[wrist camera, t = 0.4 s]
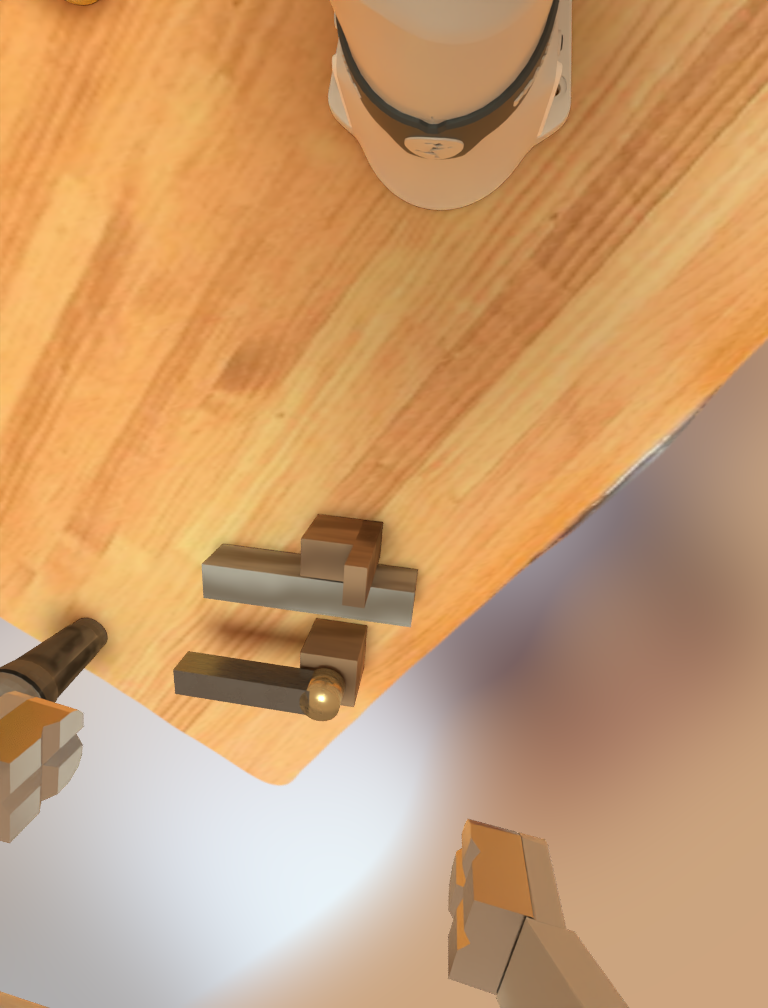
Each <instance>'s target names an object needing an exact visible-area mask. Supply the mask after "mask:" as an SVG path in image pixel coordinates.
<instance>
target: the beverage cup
mask: <svg viewBox="0 0 768 1008" xmlns="http://www.w3.org/2000/svg"><path fill="white" fill-rule="evenodd" d="M106 642H107V633H106V631H105V629H104V628H103V626H102V625H101V624H99V623H98V622H97V621H95V620H93V619H89V618H81V619H79V620H77V621H76V622H75V623H73V624H71V625H69V626H67V627H65V628H64V629H62V630H61V631H59V632H58V633H56V634H55V635H53V636H52V637H50V638H48V639H47V640H45V641H44V642H42V643H41V644H39V645H38V646H36V647H35V648H33V649H32V650H30V651H28V652H27V653H25V654H24V655H22V656H21V657H19V658H18V659H16V660H14V661H12V662H10V663H8V664H6V665H4V666H2V667H0V697H1V696H2V695H4V694H5V693H8V692H12V691H17V692H20V693H24V694H27V695H30V696H33V697H38V698H41V699H45V700H48V701H51V702H54V703H55V702H56V700H57V698H58V697H59V696H60V695H61V693H62V692H63V691H64V690H65V689H66V688H67V687H68V686H69V684H70V683H71V682H72V681H73V680H74V679H75V677H77V676H78V675H79V673H80V672H81V671H82V670H83V669H84V668H85V667H86V666H87V664H88V663H89V662H90V661H91V660H92V659H93V658H94V657H95V656H96V654H97V653H98V652H99V650H100V649H101V648H102V647H103V646H104V645H105V644H106Z"/></svg>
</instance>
